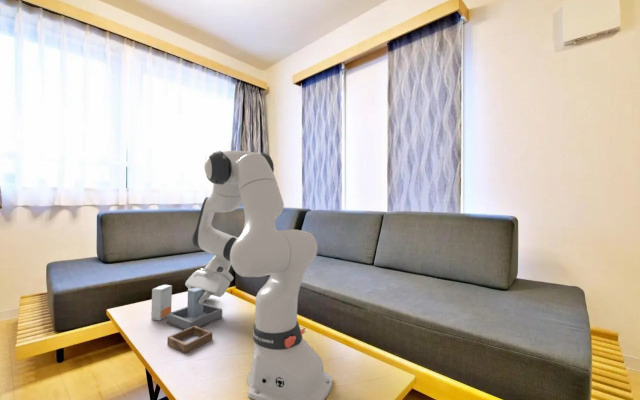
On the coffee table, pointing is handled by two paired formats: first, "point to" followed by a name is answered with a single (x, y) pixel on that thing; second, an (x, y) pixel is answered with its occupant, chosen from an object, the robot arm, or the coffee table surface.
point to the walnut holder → (187, 347)
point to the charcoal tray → (184, 321)
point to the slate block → (195, 302)
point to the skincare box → (161, 302)
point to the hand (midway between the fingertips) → (194, 301)
